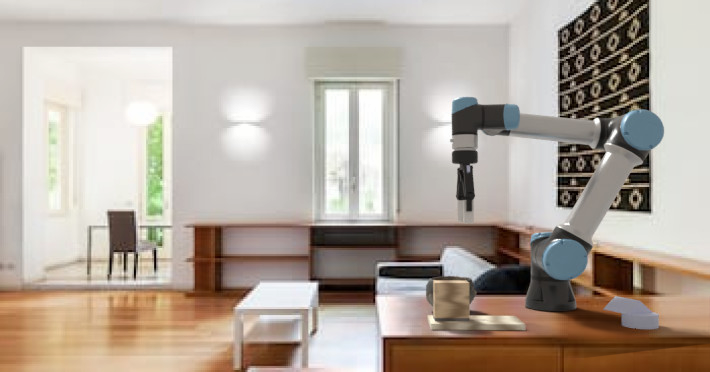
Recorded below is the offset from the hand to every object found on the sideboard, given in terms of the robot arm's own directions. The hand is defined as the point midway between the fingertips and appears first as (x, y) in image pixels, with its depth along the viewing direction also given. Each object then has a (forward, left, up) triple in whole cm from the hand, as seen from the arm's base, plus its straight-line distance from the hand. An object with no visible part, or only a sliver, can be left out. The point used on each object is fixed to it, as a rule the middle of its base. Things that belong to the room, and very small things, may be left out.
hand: (465, 222), depth 184 cm
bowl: (+4, -4, -27) cm, 28 cm away
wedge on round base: (-43, +14, -27) cm, 53 cm away
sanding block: (+6, +17, -25) cm, 31 cm away
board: (0, +17, -27) cm, 32 cm away
